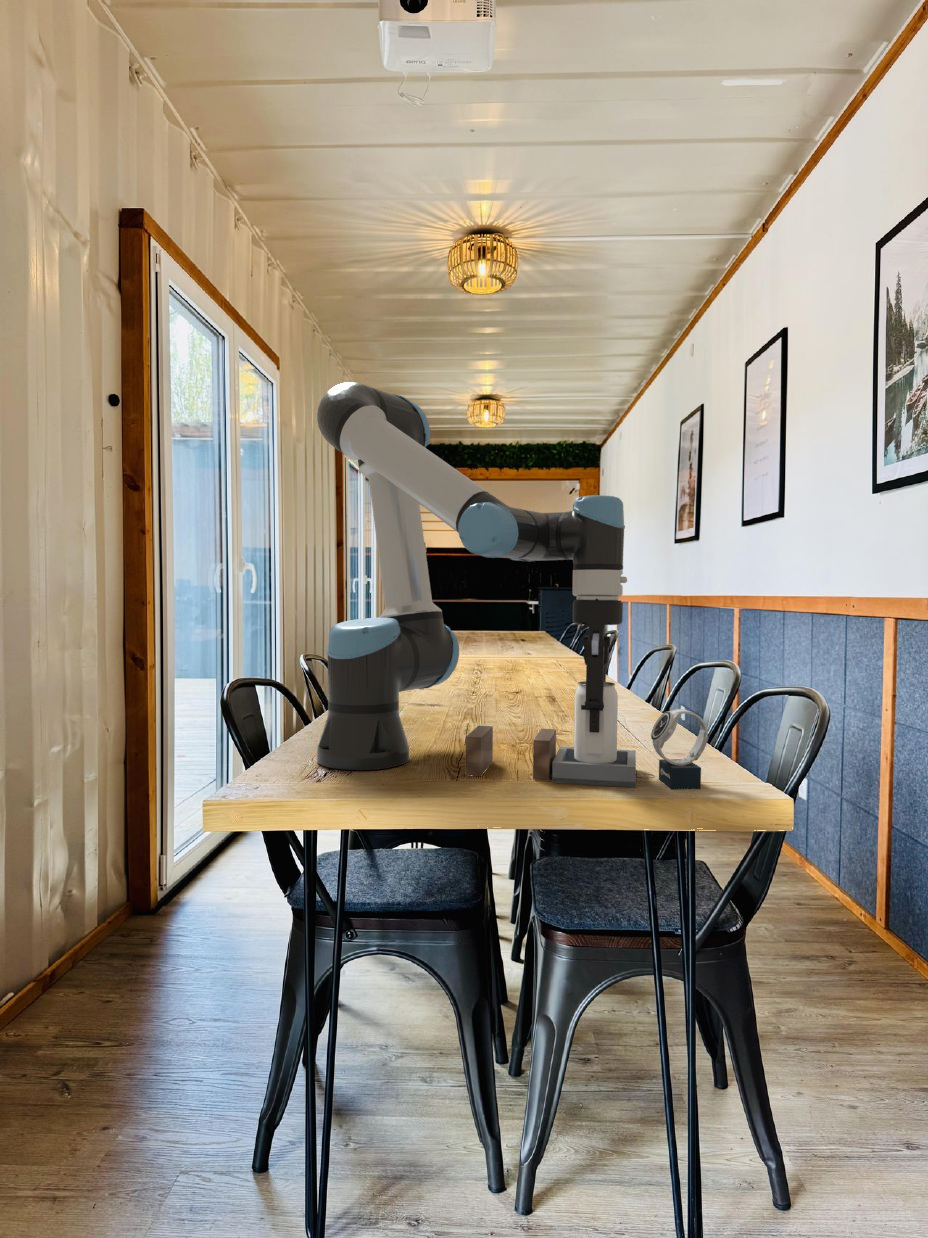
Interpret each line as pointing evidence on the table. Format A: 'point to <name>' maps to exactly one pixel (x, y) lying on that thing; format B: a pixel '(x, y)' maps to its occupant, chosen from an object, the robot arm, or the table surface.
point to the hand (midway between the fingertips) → (595, 748)
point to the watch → (678, 770)
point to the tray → (595, 770)
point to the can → (609, 725)
